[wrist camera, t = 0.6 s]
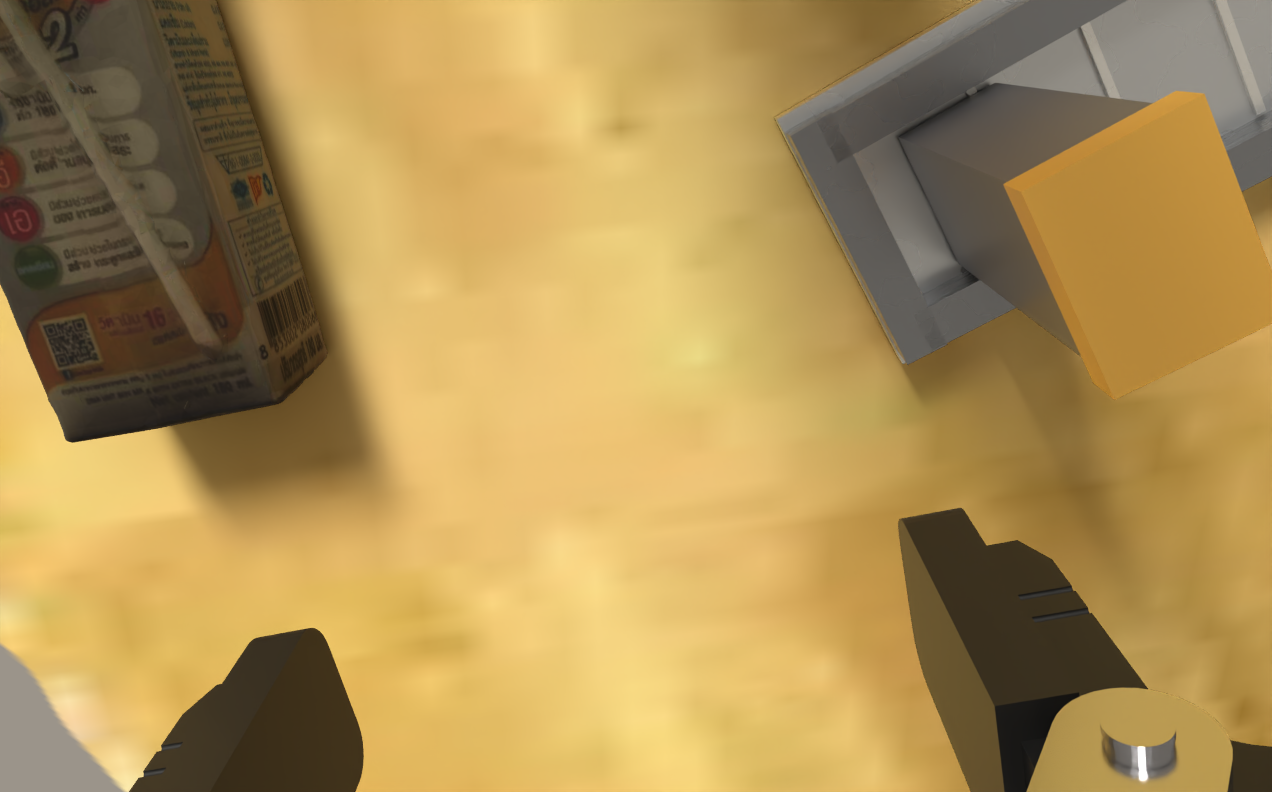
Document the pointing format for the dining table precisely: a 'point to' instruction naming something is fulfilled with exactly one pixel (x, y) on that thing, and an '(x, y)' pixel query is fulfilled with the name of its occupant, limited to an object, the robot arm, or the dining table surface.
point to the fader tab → (1100, 223)
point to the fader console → (1017, 55)
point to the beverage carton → (143, 219)
